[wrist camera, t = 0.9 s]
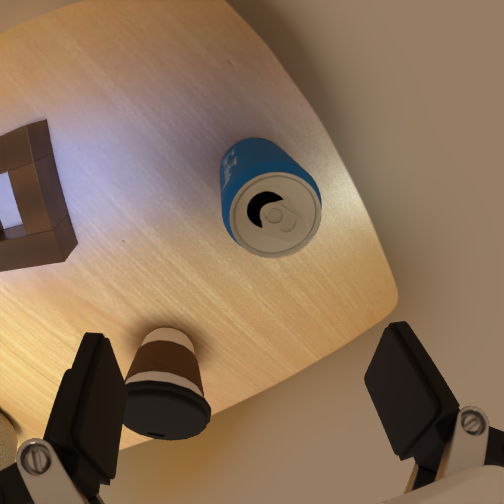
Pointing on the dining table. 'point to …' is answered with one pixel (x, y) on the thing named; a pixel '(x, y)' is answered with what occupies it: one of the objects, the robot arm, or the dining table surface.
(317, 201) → the beverage can
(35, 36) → the dining table surface
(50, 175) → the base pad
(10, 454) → the planter
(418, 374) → the robot arm
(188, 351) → the coffee cup
